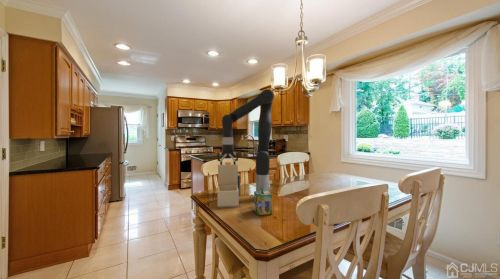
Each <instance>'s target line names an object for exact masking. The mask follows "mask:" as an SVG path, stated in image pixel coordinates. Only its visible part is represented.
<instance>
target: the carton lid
mask: <svg viewBox="0 0 500 279" xmlns="http://www.w3.org/2000/svg"><path fill="white" fill-rule="evenodd" d="M238 172H239V164H236V165H233V164H232V163H231V162H224V164H222V165H220V164H218V165H217V186H218V185H238Z"/></svg>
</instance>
